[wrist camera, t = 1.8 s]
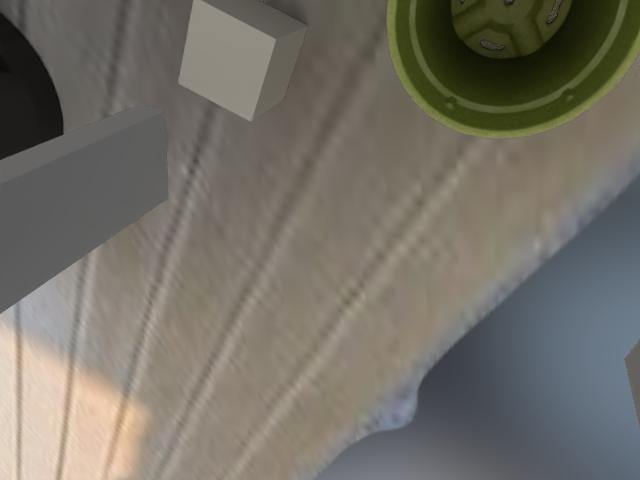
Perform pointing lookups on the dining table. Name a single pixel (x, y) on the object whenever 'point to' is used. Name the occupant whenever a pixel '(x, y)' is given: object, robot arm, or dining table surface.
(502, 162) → the dining table surface
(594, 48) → the plant pot
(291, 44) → the cream block
